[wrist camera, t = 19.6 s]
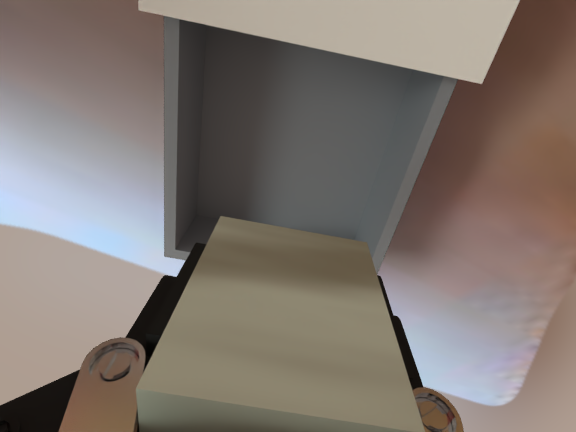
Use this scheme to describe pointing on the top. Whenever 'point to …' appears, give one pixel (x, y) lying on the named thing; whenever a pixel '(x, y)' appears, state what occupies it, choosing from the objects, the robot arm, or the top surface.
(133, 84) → the top surface
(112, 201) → the top surface
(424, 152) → the tray
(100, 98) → the top surface
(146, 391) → the sage block
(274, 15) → the white drawer housing
